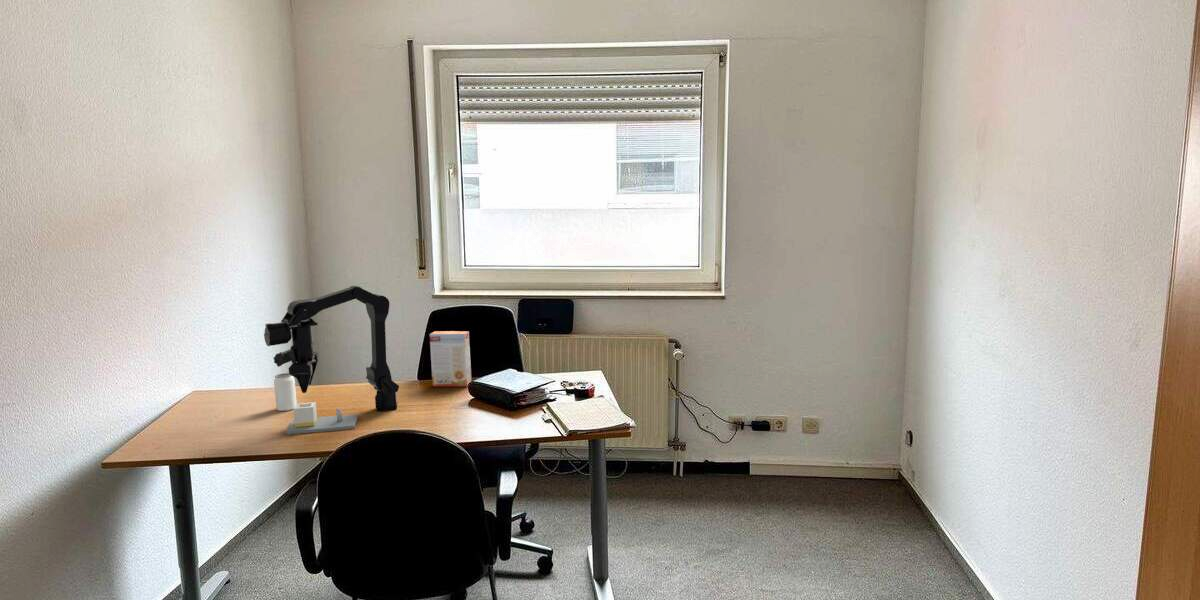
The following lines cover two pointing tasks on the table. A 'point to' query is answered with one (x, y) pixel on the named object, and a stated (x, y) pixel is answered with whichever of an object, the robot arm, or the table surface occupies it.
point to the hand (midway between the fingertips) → (306, 388)
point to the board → (326, 424)
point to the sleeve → (305, 414)
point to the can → (285, 392)
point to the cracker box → (450, 358)
